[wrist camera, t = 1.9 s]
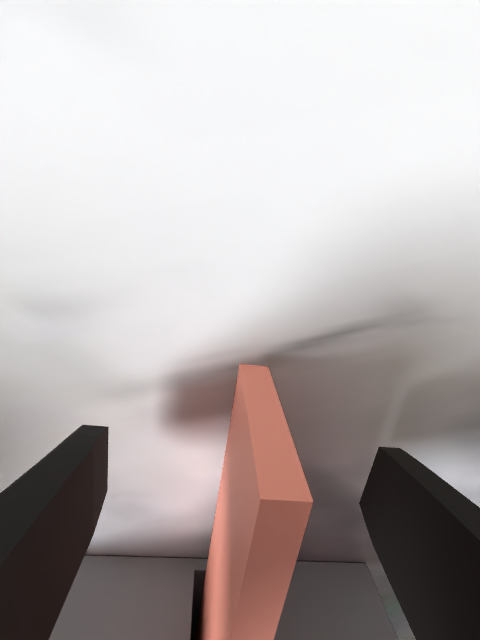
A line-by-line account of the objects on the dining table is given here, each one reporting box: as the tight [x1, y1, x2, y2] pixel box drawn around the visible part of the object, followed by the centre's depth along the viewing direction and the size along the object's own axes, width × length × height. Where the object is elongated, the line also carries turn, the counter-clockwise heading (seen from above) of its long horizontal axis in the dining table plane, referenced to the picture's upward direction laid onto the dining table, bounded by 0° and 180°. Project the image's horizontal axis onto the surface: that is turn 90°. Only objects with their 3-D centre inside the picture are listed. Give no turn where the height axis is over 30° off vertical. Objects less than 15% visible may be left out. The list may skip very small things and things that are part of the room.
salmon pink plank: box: [195, 364, 313, 640], centre depth 9 cm, size 13×1×4 cm, turn 172°
